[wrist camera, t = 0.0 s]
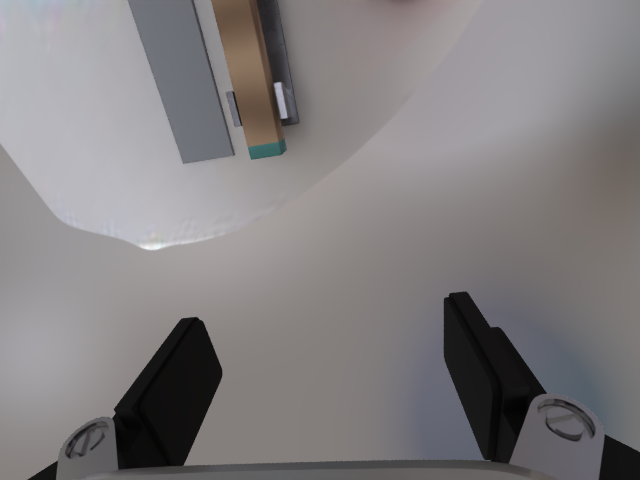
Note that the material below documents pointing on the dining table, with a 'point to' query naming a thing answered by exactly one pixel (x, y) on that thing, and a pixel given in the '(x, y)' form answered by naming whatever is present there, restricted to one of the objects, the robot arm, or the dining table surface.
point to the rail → (250, 75)
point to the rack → (273, 65)
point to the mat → (183, 77)
